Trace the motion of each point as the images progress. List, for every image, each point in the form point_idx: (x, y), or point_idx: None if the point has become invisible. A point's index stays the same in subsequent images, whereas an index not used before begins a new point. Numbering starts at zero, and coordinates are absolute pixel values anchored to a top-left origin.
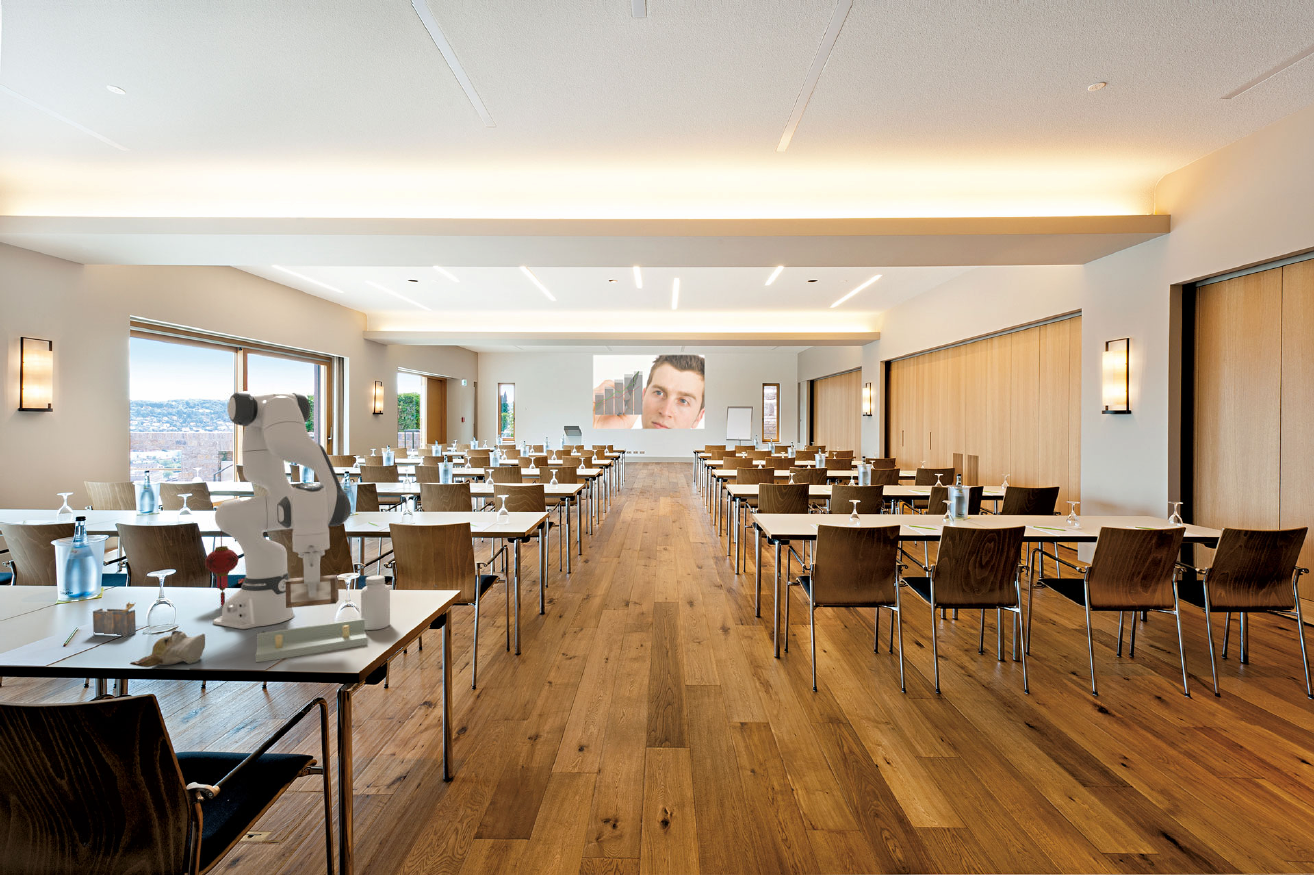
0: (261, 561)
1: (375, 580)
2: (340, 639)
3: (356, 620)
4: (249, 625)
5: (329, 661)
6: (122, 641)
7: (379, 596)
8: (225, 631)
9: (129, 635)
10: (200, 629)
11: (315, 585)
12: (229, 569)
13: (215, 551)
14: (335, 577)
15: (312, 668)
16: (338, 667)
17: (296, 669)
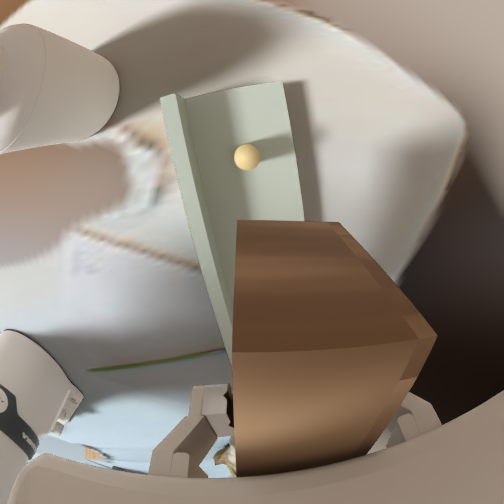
0: (8, 480)
1: None
2: (271, 169)
3: (180, 124)
4: (76, 393)
5: (388, 184)
6: (138, 472)
7: (53, 46)
8: (94, 412)
9: (120, 469)
10: (89, 431)
11: (421, 404)
12: None
13: None
14: (411, 342)
15: (415, 219)
16: (434, 159)
17: (404, 254)
